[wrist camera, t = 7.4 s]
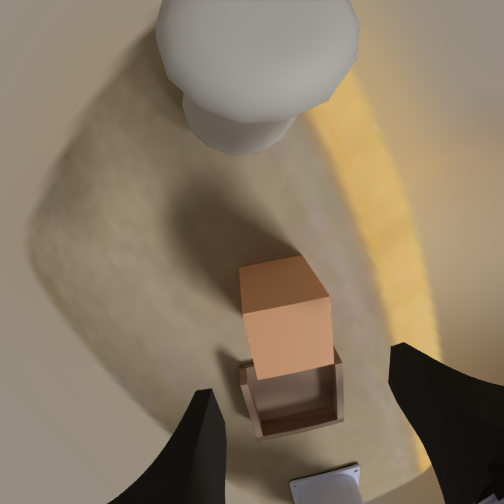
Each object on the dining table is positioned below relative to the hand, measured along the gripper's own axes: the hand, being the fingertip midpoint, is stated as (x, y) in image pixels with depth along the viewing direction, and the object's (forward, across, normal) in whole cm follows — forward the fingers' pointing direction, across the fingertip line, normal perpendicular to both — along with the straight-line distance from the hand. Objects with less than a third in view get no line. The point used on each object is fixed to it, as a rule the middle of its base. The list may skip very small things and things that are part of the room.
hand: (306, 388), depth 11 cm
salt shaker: (+10, 0, -12) cm, 15 cm away
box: (+9, 0, +9) cm, 13 cm away
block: (+9, 0, 0) cm, 9 cm away
